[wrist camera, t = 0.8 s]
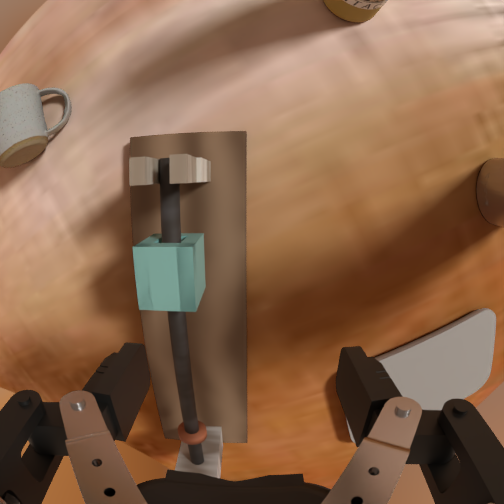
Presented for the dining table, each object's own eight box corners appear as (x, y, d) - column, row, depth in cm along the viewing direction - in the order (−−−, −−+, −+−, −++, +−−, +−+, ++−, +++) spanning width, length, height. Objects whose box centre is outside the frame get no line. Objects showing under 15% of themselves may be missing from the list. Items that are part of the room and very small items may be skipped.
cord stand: (246, 133, 30) (245, 109, 19) (247, 438, 40) (247, 499, 29) (135, 139, 30) (83, 123, 19) (167, 433, 40) (151, 491, 28)
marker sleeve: (203, 233, 27) (192, 246, 22) (205, 287, 28) (196, 311, 23) (154, 233, 27) (132, 247, 22) (157, 286, 28) (139, 309, 23)
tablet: (482, 376, 39) (488, 383, 37) (349, 439, 41) (353, 449, 39) (487, 297, 36) (496, 302, 34) (332, 366, 37) (336, 376, 35)
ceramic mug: (22, 171, 31) (-16, 173, 23) (9, 120, 29) (-27, 114, 21) (82, 128, 30) (47, 119, 23) (67, 75, 28) (33, 58, 21)
